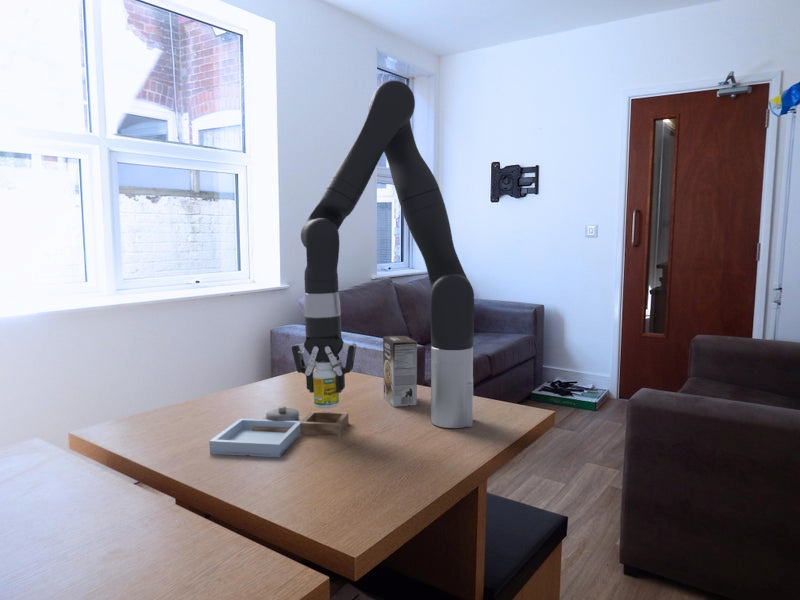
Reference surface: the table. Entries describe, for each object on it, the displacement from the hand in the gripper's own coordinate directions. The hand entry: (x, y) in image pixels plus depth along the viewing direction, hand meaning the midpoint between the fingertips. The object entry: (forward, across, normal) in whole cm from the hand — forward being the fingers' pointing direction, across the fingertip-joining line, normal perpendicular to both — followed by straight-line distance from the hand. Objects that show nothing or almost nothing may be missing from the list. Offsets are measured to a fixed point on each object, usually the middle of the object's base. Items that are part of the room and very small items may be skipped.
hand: (325, 391), depth 124 cm
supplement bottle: (+3, 0, 0) cm, 3 cm away
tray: (+8, +12, +10) cm, 17 cm away
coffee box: (+9, -13, -23) cm, 28 cm away
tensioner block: (+8, +6, 0) cm, 10 cm away
